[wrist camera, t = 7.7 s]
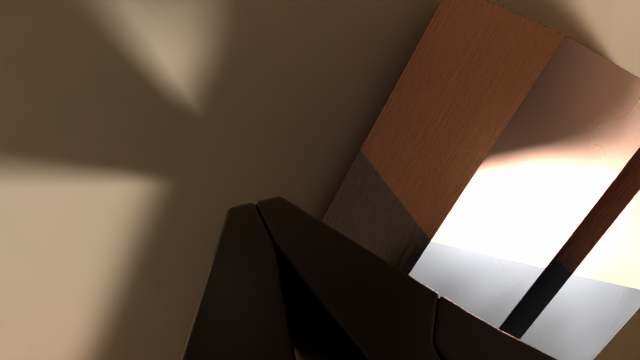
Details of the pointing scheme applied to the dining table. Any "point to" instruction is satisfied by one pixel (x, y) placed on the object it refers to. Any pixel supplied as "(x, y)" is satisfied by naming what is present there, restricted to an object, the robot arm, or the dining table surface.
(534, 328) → the base
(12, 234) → the dining table surface
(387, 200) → the tongs arm
